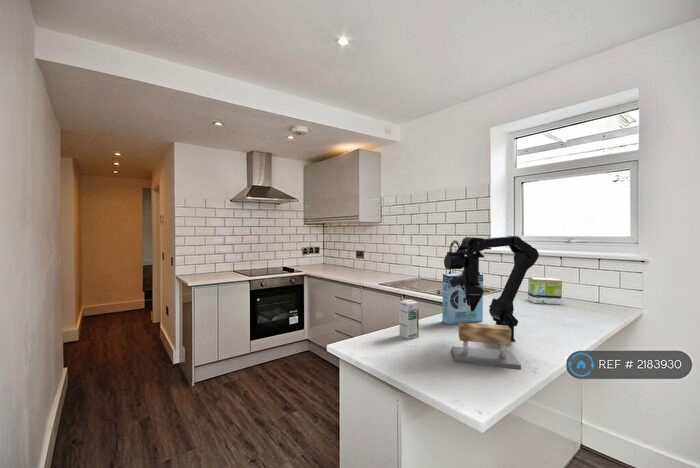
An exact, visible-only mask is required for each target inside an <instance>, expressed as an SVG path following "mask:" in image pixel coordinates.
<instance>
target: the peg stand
mask: <svg viewBox="0 0 700 468" xmlns="http://www.w3.org/2000/svg"><path fill="white" fill-rule="evenodd" d="M462 342H463V343H462V344H463V345H462V346H458V345H457V346H455V345H451V352H452V355H453V359H454V362H455V363H456V364H464V365H465V364H466V365H476V366H486V367H487V366H488V367H499V368H510V369H520V370H521V369H522V364H521V363H520V362H519V360H518V359H517V358H516V356H515V355H514V353H513V351H512V350H506V347H507V346H506V345H507V344H499V349H492V348H480V347H478V348H477V347H470V346H469V341H462Z"/></svg>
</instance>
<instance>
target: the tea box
mask: <svg viewBox="0 0 700 468" xmlns="http://www.w3.org/2000/svg"><path fill="white" fill-rule="evenodd" d="M527 283H528V289H527V301H530V302H531V303H533V304H545V303H546V304H545V305H547V304H548V305H558V304H560V305H562V288H563V287H562V285H563V280H561V279H558V278H555V277H543V276H541V277H539V276H529V277H528V282H527Z"/></svg>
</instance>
